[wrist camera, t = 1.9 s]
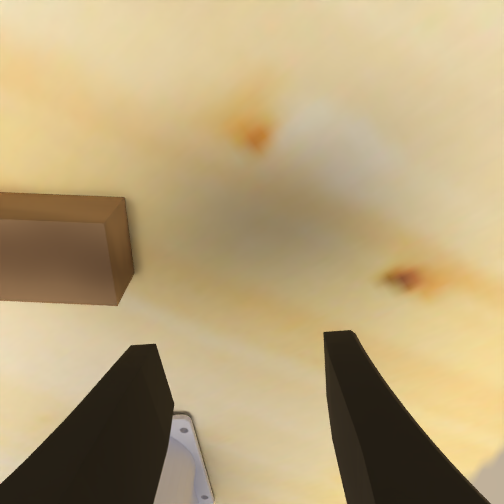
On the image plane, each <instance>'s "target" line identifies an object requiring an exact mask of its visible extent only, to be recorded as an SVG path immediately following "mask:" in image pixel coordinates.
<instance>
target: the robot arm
mask: <svg viewBox="0 0 504 504" xmlns="http://www.w3.org/2000/svg"><path fill="white" fill-rule="evenodd" d="M324 353H325V373H326V394H327V403H328V410H329V418H330V426H331V433H332V440H333V444H334V449H335V453H336V457H337V462H338V466H339V471H340V475H341V479H342V484H343V488H344V492H345V497H346V501H347V504H490V503H489V501H488V500H487V499H486V498H485V497H483V495H482V494H480V493H479V491H478V490H477V489H476V488H475V487H474V486H473V485H472V484H471V483H470V482H469V481H468V480H467V479H466V478H465V477H464V476H463V475H462V474H461V473H460V471H459V470H458V469H457V468H456V467H455V466H454V465H453V464H452V463H451V462H450V461H449V460H448V458H447V457H446V456H445V455H444V454H443V453H442V452H441V451H440V449H439V448H438V447H437V446H436V445H435V444H434V442H433V441H432V440H431V439H430V438H429V437H428V435H427V434H426V433H425V432H424V431H423V429H422V428H421V427H420V426H419V425H418V423H417V422H416V421H415V420H414V418H413V417H412V416H411V415H410V413H409V412H408V411H407V410H406V408H405V407H404V406H403V404H402V403H401V402H400V400H399V399H398V398H397V396H396V395H395V394H394V392H393V391H392V390H391V389H390V387H389V386H388V384H387V383H386V382H385V380H384V379H383V377H382V376H381V375H380V373H379V372H378V370H377V369H376V367H375V366H374V364H373V363H372V361H371V360H370V358H369V356H368V355H367V353H366V352H365V350H364V348H363V347H362V345H361V343H360V341H359V339H358V338H357V336H356V334H355V333H354V332H353V331H351V330H346V331H332V332H324ZM173 410H174V401H173V398H172V395H171V392H170V388H169V385H168V382H167V379H166V375H165V372H164V369H163V366H162V362H161V359H160V356H159V353H158V349H157V346H156V344H145V345H131V346H130V347H129V348H128V349H127V350H126V351H125V353H124V354H123V355H122V356H121V357H120V358H119V359H118V361H117V362H116V363H115V364H114V365H113V366H112V367H111V368H110V370H109V371H108V372H107V373H106V374H105V375H104V377H103V378H102V379H101V380H100V381H99V382H98V383H97V385H96V386H95V387H94V388H93V389H92V390H91V391H90V393H89V394H88V395H87V396H86V397H85V398H84V399H83V400H82V401H81V403H80V404H79V405H78V406H77V407H76V408H75V409H74V410H73V411H72V412H71V414H70V415H69V416H68V417H67V418H66V419H65V420H64V421H63V422H62V423H61V424H60V425H59V426H58V427H57V428H56V429H55V431H54V432H53V433H52V434H51V435H50V436H49V437H48V438H47V439H46V440H45V441H44V442H43V443H42V444H41V445H40V446H39V447H38V448H37V449H36V450H35V451H34V452H33V453H32V454H31V455H30V456H29V457H28V458H27V459H26V460H25V461H24V462H23V463H22V464H21V465H20V466H19V467H18V468H17V469H16V470H15V471H14V472H13V473H12V474H11V475H9V476H8V477H7V478H6V479H5V480H4V481H3V482H2V483H1V484H0V504H214V501H215V500H214V497H213V493H212V490H211V486H210V483H209V479H208V476H207V472H206V469H205V465H204V462H203V458H202V455H201V451H200V448H199V444H198V441H197V437H196V434H195V430H194V427H193V423H192V420H191V418H190V417H189V416H187V415H173Z"/></svg>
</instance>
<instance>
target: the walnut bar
mask: <svg viewBox="0 0 504 504" xmlns="http://www.w3.org/2000/svg"><path fill="white" fill-rule="evenodd" d="M133 275H134V267H133V259H132V252H131V244H130V236H129V229H128V221H127V213H126V206H125V198H124V197H102V196H78V195H53V194H29V193H5V192H0V301H20V302H42V303H65V304H87V305H109V306H118V304H119V302H120V300H121V298H122V296H123V294H124V292H125V290H126V288H127V286H128V284H129V283H130V281H131V279H132V277H133Z"/></svg>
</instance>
